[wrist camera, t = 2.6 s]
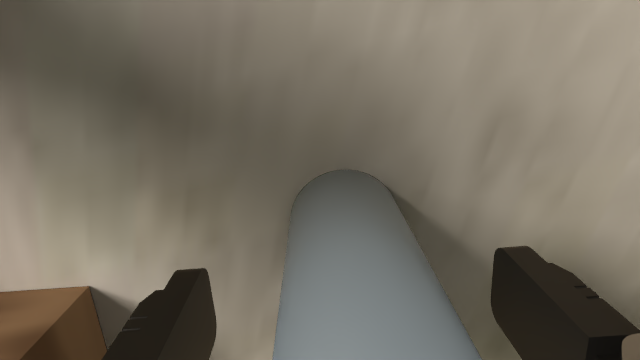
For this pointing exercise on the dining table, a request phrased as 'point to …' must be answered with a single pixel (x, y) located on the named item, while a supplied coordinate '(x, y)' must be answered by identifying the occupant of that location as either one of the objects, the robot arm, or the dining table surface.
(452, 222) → the dining table surface
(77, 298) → the socket block
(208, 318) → the robot arm
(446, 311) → the peg
